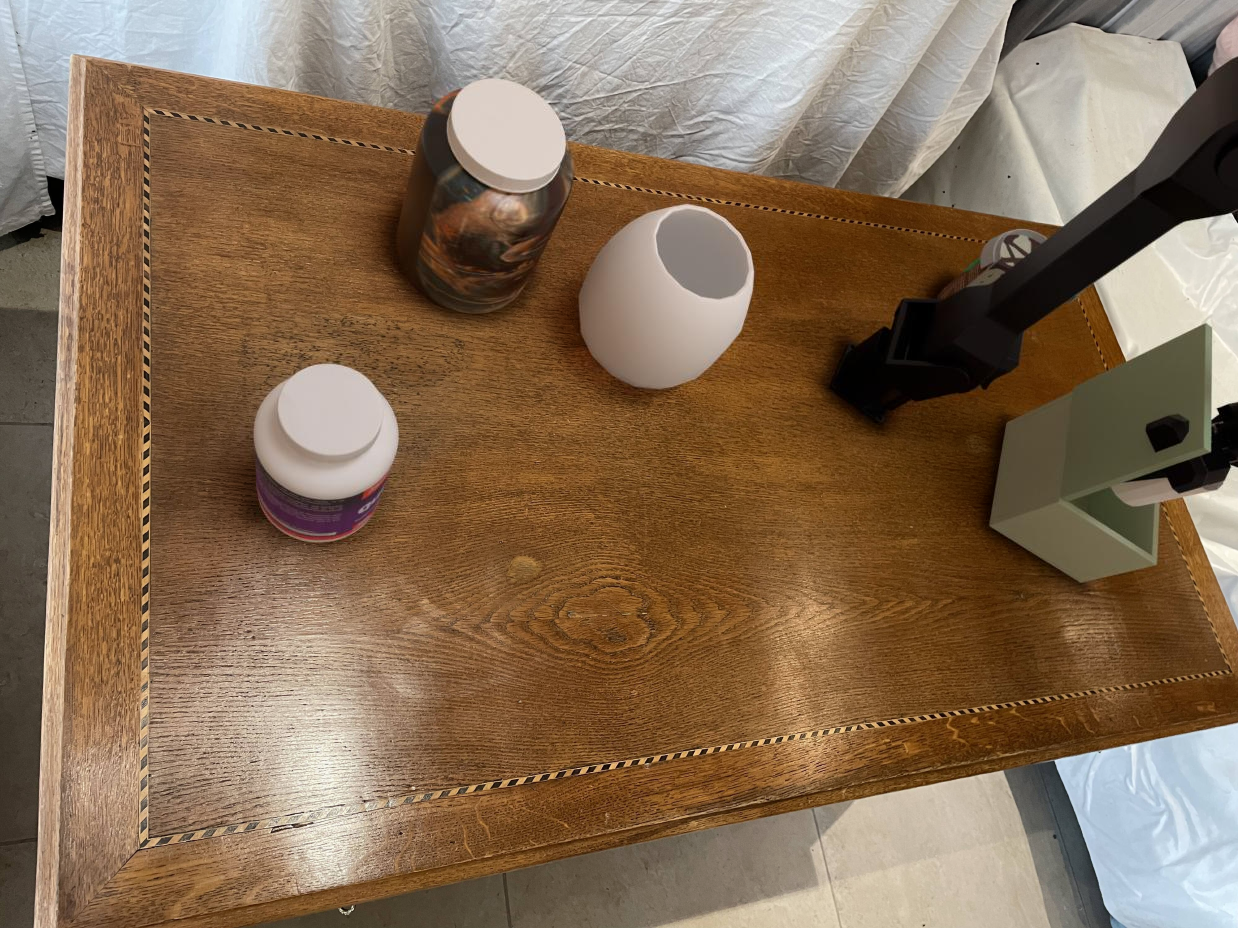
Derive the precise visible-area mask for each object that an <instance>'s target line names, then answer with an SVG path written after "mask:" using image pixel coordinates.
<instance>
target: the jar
mask: <svg viewBox="0 0 1238 928" xmlns="http://www.w3.org/2000/svg"><path fill="white" fill-rule="evenodd" d="M574 179H575V164H574V158H573V153H572V149H571V147H570V145H569V142H568V140H567V138H566V134H565V129H564V127H563V124H562V122H561V120H560V117H559V116H558V115H557V113H556V111H555V109H554V108H553V107H552V106H551V105H550V104H549V103H548V102H547V101H546V99H544V98H543V97H542V96H541V95H539V94H538V93H537V92H535V91H534V90H532V89H530V88H529V87H527V86H525V85H523V84H522V83H521V84H520V83H518V82H515V81H513V80H509V79H505V78H504V79H503V78H494V77H493V78H484V79H483V78H482V79H477V80H475V81H473V82H471V83H469V84H467V85H466V86H464V87H461V88H458V89H455V90H453V91H451V92H449V93H447V94H446V95H444V96H443V97H441V98H440V99H439V100H438V101H437V102H436V103H435V104H434V105H433V107H431V109H430V111H428V113H427V116H426V118H425V120H424V122H423V124H422V126H421V130H420V133H419V137H418V139H417V143H416V147H415V151H414V155H413V159H412V163H411V167H410V171H409V176H408V180H407V185H406V189H405V193H404V197H403V203H402V208H401V212H400V217H399V221H398V225H397V229H396V230H397V231H396V253H397V256H398V259H399V260H398V261H399V263H400V265H401V268H402V270H403V272H404V274H405V275H406V277H407V278H408V280H409V281H410V282H411V284H412V285H413V286H414V287H415V289H417V290H418V291H419V292H420V293H421V294H422V295H423V296H425V297H426V298H427V299H429V300H430V301H432V302H433V303H435V304H437V305H439V306H440V307H443V308H445V309H448V310H451V311H453V312H454V311H455V312H458V313H462V314H471V315H472V314H473V315H474V314H475V315H476V314H477V315H479V314H487V313H492V312H495V311H498V310H500V309H503V308H504V307H506V306H508V305H509V304H511V303H512V302H513V301H515V300H516V298H518V297H519V295H521V293H522V291H523V290H524V289H525V287H526V285H527V284H528V282H529V280H530V279H531V276H532V274H533V272H534V271H535V269H536V267H537V264H538V262H539V260H540V259H541V257H542V255H543V253H544V251H545V250H546V248H547V245H548V243H549V241H550V239H551V238H552V235H553V234H554V231H555V229H556V227H557V224H558V223H559V221H560V219H561V216H562V214H563V212H564V210H565V208H566V205H567V204H568V203H567V202H568V200H569V198H570V195H571V192H572V189H573V185H574Z"/></svg>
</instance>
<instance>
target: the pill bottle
mask: <svg viewBox="0 0 1238 928" xmlns="http://www.w3.org/2000/svg"><path fill="white" fill-rule="evenodd" d="M399 439H400V435H399V425H398V421H397V417H396V415H395V412H394V411H393V408H392V406H391V405H390V403H389V402H388V400H387V399H386V397H384V395H383V394H382V393H381V392H380V391H379V390H378V389H377V387H376V386H375V384H374V383H373V382H372V381H371V380H370V379H369V378H368V377H366V376H365V374H363V373H361V372H360V371H357V370H356V369H354V368H352V367H349V366H346V365H342V364H338V363H337V364H336V363H318V364H314V365H310V366H307V367H304V368H303V369H301V370H299V371H297V372H296V373H294V374H293V375H292V376H290V377H289V378H287V379H285V380H283V381H281V382H280V383H278V384H277V385H276V386H275V387H274V388H273V389H271V391H270V392H269V393H268V394H267V395H266V396H265V397H264V399H263V401H262V402H261V404H260V406H259V407H258V410H257V412H256V415H255V419H254V423H253V448H254V449H253V450H254V459H255V461H254V462H255V479H256V480H255V481H256V483H255V484H256V493H257V498H258V503H259V505H260V507H261V510H262V512H263V513H264V515H265V516H266V518H267V520H268V521H270V522H271V524H272V525H273V526H275V527H276V528H277V529H278V530H279V531H281V532H282V533H284V534H285V535H287V536H288V537H291V538H294V539H296V540H299V541H303V542H308V543H330V542H336V541H339V540H342V539H345V538H347V537H349V536H352V534H354V533H356V532H357V531H359V530H360V529H361V528H362V527H364V526H365V525H366V524H367V523H368V521H369V520H371V518H372V516H373V515H374V513H375V511H376V509H377V507H378V504H379V502H380V499H381V496H382V493H383V491H384V487H385V485H386V483H387V480H388V477H389V474H390V471H391V469H392V466H393V464H394V461H395V458H396V455H397V452H398V447H399Z"/></svg>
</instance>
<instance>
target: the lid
mask: <svg viewBox="0 0 1238 928" xmlns="http://www.w3.org/2000/svg"><path fill="white" fill-rule="evenodd" d="M1212 388H1213V327H1212V326H1211V325H1210V324H1208V323H1207V322H1205V323H1202V324H1201V325H1198V326H1196V327H1194V328H1192V329H1190V330H1188V331H1186V332H1184V333H1181V334H1180V335H1178V336H1176V337H1174V338H1172V339H1170V340H1167V341H1166V342H1163V343H1161V344H1160V345H1157V346H1155V347H1153V348H1151V349H1148V350H1147V351H1145V352H1143V353H1141V354H1139V355H1137V356H1136V357H1132V358H1131V359H1129V360H1126V361H1125V362H1123V363H1120V364H1118V365H1116V366H1114V367H1112V368H1110V369H1108V370H1107V371H1104V372H1102V373H1100V374H1098V375H1096V376H1094V377H1092V378H1089V379H1087V380H1086V381H1084V382H1081V383H1079V384H1078V385H1075V386H1074V387H1073V388H1072V392H1073V395H1072V403H1071V411H1070V420H1069V428H1068V436H1067V445H1066V453H1065V461H1064V470H1063V478H1062V486H1061V495H1060V498H1061V499H1062V500H1064V501H1066V502H1068V501H1071V500H1073V499H1076V498H1079V497H1082V496H1085V495H1088V494H1091V493H1094V492H1097V491H1099V490H1102V489H1105V488H1108V487H1111V486H1114V485H1117V484H1120V483H1123V482H1125V481H1128V480H1131V479H1134V478H1137V477H1140V476H1143V475H1146V474H1149V473H1151V472H1154V471H1157V470H1160V469H1163V468H1166V467H1169V466H1172V465H1175V464H1177V463H1180V462H1183V461H1186V460H1189V459H1192V458H1195V457H1198V456H1201V455H1203V454H1206V453H1209V452H1211V420H1212V405H1213V403H1212V399H1213V395H1212V394H1213V393H1212V392H1213V389H1212ZM1174 414H1180V415H1181V416H1183V417H1184V418H1186V419H1187V420H1189V432H1188V434H1187V435H1186V437H1185V438H1184V440H1183V442H1182V443H1180V444H1177V445H1175V446H1172V447H1169V448H1167V449H1164V450H1161V451H1159V452H1156V453H1155V451H1154V449H1153V447H1152V444H1151V442H1150V440H1149V438H1148V436H1147V434H1146V432H1145V430H1146V424H1148V423H1150V422H1153V421H1155V420H1158V419H1161V418H1163V417H1166V416H1168V415H1174Z"/></svg>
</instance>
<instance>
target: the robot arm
mask: <svg viewBox="0 0 1238 928" xmlns="http://www.w3.org/2000/svg"><path fill="white" fill-rule="evenodd" d="M1237 211H1238V55H1236V56H1235V57H1233V58H1231V59H1229V60H1228V61H1226V62H1224V64H1222V65H1221V66H1219V67H1218V68H1216V69H1215V70H1214V71H1213V72H1212V73H1210V74H1209V76H1208V77H1207V78H1206V79H1205V80H1204V81H1203V82H1202V83H1201V84H1200V86H1198V87H1197V89H1196V90H1195V91H1194V92H1193V93H1192V94H1191V95H1190V96H1189V98H1188V99H1186V101H1185V102H1184V103H1183V104H1182V105H1181V106H1180V107H1179V108H1178V109H1177V110H1176V112H1175V113H1174V114H1173V115H1172V116H1171V119H1170V120H1169V121H1168V123H1167V124H1166V125H1165V128H1164V129H1163V130H1162V132H1161V133H1160V135H1159V136H1158V138H1157V139H1156V141H1154V144H1153V146H1152V147H1151V148H1150V149H1149V151H1148V153H1147V154H1146V156H1145V157H1144V159H1143V160H1142V161H1141V162H1140V163H1139V165H1137V166H1136V167H1135V168H1134V169H1133V170H1131V171H1130V172H1129V173H1128V174H1127V175H1125V176H1124V177H1123V178H1122V179H1120V180H1119V181H1117V182H1116V183H1115V184H1114V185H1112V186H1111V187H1110V188H1109V189H1108V190H1107V191H1105V192H1104V193H1103V194H1101V195H1100V196H1099V197H1098V198H1097V199H1095V200H1094V201H1093V202H1091V203H1090V204H1089V205H1088V206H1086V207H1085V208H1084V209H1083V210H1081V212H1079V213H1078V214H1077V215H1075V216H1074V217H1073V218H1071V219H1070V220H1069V221H1068V222H1067V223H1066V224H1064V225H1063V226H1062V227H1060V228H1059V229H1058V230H1057V231H1055V232H1053V234H1051V235H1050V236H1049V237H1048V239H1047V240H1045V241H1044V242H1043V243H1042V244H1040V245H1039V246H1038V247H1037V248H1035V249H1034V250H1033V251H1032V252H1030V253H1029V254H1028V255H1027V256H1025V257H1024V258H1023V259H1022V260H1020V261H1019V262H1018V263H1017V264H1015V265H1014V266H1013V267H1012V268H1010V269H1009V270H1008V271H1007V272H1005V273H1004V274H1003V275H1002V276H1000V277H999V278H998V279H997V280H995V281H994V282H992V283H990V284H986V285H977V286H969V287H965V288H963V289H961V290H960V291H958V292H956V293H954V294H953V295H951V296H949V297H948V298H946V299H937V298H924V297H923V298H916V297H915V298H913V297H911V298H910V297H904V298H901V300H900V302H899V303H898V306H897V307H896V309H895V311H894V313H893V317H894V318H893V320H892V323H891V328H889V327H888V326H886V325H884V326H881V328H879V329H878V330H877V331H875V332H874V333H872V334H871V335H869V336H868V337H867V338H866V339H864V340H863V341H862V342H860V343H859V344H857V345H856V344H855V343H853V342H850V343H848V344H847V345H846V346H845V347H844V348H845V349H844V351H843V353H842V355H841V357H840V359H839V362H838V364H837V367H836V369H835V372H834V374H833V376H832V379H831V381H830V383H829V389H830V391H832V392H833V394H835V395H837V396H838V397H840V399H843V400H844V401H845V402H847V404H849V405H851V406H852V407H853V408H855V409H856V410H857V411H859V412H860V413H861V414H863V415H864V416H866V417H867V418H868V419H869V420H871V421H872V422H873V423H875V424H878V425H880V424H881V423H883V422H884V420H885V418H886V414H887V413H888V411H889V412H894V411H895V410H897V409H899V408H900V407H902V406H903V405H906V404H908V403H909V402H911V401H912V402H914V403H918V402H919V403H920V402H923V401H927V400H933V399H936V398H941V397H946V396H950V395H955V394H959V395H961V394H966V393H970V392H972V391H974V390H976V389H978V388H979V387H980V388H981V389H982V390H983V391H986V390H988V388H989V386H991V385H990V384H992V383H993V382H994V381H995V380H997V379H999V378H1000V377H1003V376H1005V375H1007V374H1009V373H1011V372H1013V371H1014V370H1015V369H1017V367H1019V365H1020V362H1021V354H1022V349H1023V344H1024V343H1023V342H1024V337H1025V331H1027V330H1028V329H1030V328H1031V327H1032V326H1034V325H1036V324H1037V323H1039V322H1040V321H1041V320H1043V319H1044V318H1046V317H1047V316H1049V315H1050V314H1051V313H1053V312H1055V311H1056V310H1057V309H1059V308H1060V307H1062V306H1063V305H1065V304H1066V303H1067V302H1069V300H1070V299H1072V298H1073V297H1075V296H1076V295H1078V294H1079V293H1080V292H1082V291H1083V292H1084V291H1085V290H1086V289H1088V288H1089V287H1090V286H1092V285H1094V284H1095V283H1096V282H1098V281H1099V280H1101V279H1102V278H1104V277H1105V276H1107V275H1108V274H1110V273H1111V272H1112V271H1114V270H1116V268H1118V267H1120V266H1121V265H1122V264H1124V263H1125V262H1127V261H1129V260H1130V259H1131V258H1132V257H1134V256H1136V255H1137V254H1138V253H1140V252H1141V251H1143V250H1144V249H1146V248H1147V247H1149V246H1150V245H1152V244H1153V243H1154V242H1157V240H1159V239H1160V238H1161V237H1163V236H1164V235H1166V234H1167V233H1169V232H1170V231H1171V230H1173V229H1174V228H1177V227H1178V226H1180V225H1182V224H1184V223H1185V222H1192V221H1198V220H1203V219H1209V218H1214V217H1215V218H1216V217H1220V216H1226V215H1230V214H1232V213H1235V212H1237ZM1083 292H1082V293H1083ZM1215 409H1216V411H1217V413H1218V414H1217V415H1215V416H1214V417H1213V418H1211V452H1209V453H1206V454H1203V455H1201V456H1198V457H1195V458H1192V459H1189V460H1186V461H1183V462H1180V463H1177V464H1175V465H1172V466H1169V467H1166V468H1163V469H1160V470H1157V471H1154V472H1151V473H1149V474H1146V475H1143V476H1140V477H1137V478H1134V479H1131V480H1128V481H1125V482H1123V483H1126V482H1134V481H1143V480H1152V479H1160V478H1167V479H1168V481H1169V483H1170V485H1171V487H1172V489H1173V490H1175V491H1176V492H1177V493H1178V494H1180V493H1184V492H1188V491H1192V490H1195V489H1199V488H1202V487H1206V486H1209V485H1213V484H1216V483H1219V482H1222V481H1224V482H1225V481H1226V479H1227V477H1228V474H1229V473H1230V471H1231V468H1232V467H1235V468H1238V401H1236V402H1231V403H1230V402H1229V403H1227V404H1224V405H1221V406H1218V407H1216V408H1215ZM1145 432H1146V434H1147V436H1148V438H1149V440H1150V442H1151V444H1152V447H1153V449H1154V451H1155V453H1156V452H1159V451H1161V450H1164V449H1167V448H1169V447H1172V446H1175V445H1177V444H1180V443H1182V442H1183V440H1184V438H1185V437H1186V435H1187V434H1188V432H1189V420H1187V419H1186V418H1184V417H1183V416H1181V415H1180V414H1174V415H1168V416H1166V417H1163V418H1161V419H1158V420H1155V421H1153V422H1150V423H1148V424H1146V430H1145Z"/></svg>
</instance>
